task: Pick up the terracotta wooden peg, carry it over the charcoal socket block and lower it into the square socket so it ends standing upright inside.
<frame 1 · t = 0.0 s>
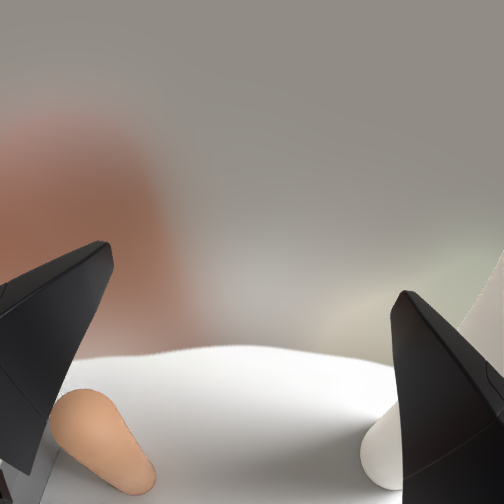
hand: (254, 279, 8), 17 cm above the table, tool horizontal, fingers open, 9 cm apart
peg: (132, 474, 15), on the table
cylindrical container: (396, 453, 18), on the table
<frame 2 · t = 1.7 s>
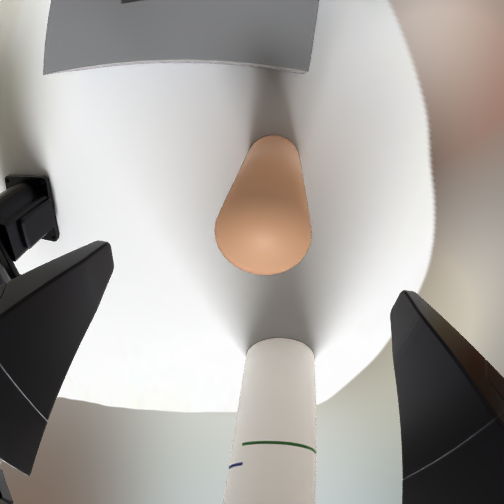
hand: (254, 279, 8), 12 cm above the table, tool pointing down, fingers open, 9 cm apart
peg: (273, 160, 19), on the table
cylindrical container: (280, 358, 30), on the table
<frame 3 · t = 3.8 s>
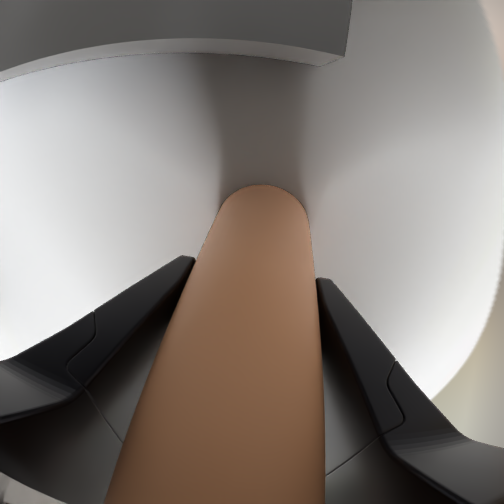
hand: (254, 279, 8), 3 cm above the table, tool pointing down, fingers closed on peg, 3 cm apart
peg: (262, 228, 11), on the table, touching gripper
when the fingers open (5 cm above the table, at t = 9.5 s): peg drops 2 cm, resting in socket block.
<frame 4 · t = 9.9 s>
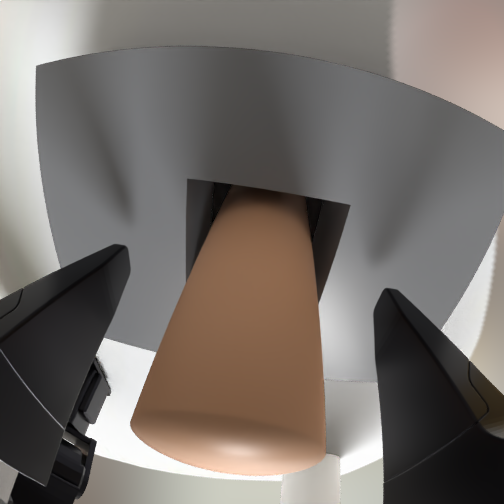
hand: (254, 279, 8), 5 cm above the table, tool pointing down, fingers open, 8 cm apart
peg: (266, 205, 13), resting in socket block
cylindrical container: (311, 459, 30), on the table
socket block: (266, 206, 13), on the table
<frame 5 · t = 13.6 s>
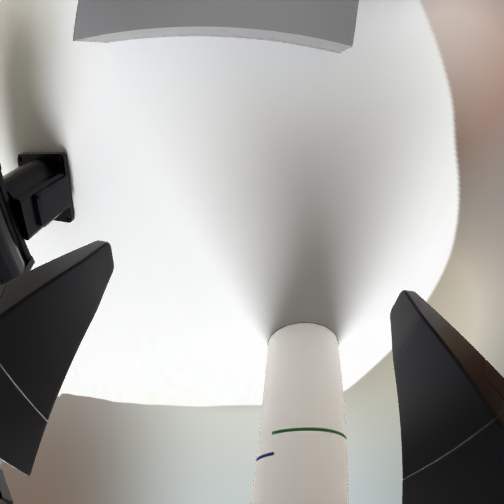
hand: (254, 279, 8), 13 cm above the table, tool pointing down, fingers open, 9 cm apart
cylindrical container: (303, 345, 29), on the table
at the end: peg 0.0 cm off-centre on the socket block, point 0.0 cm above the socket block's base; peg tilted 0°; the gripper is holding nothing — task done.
